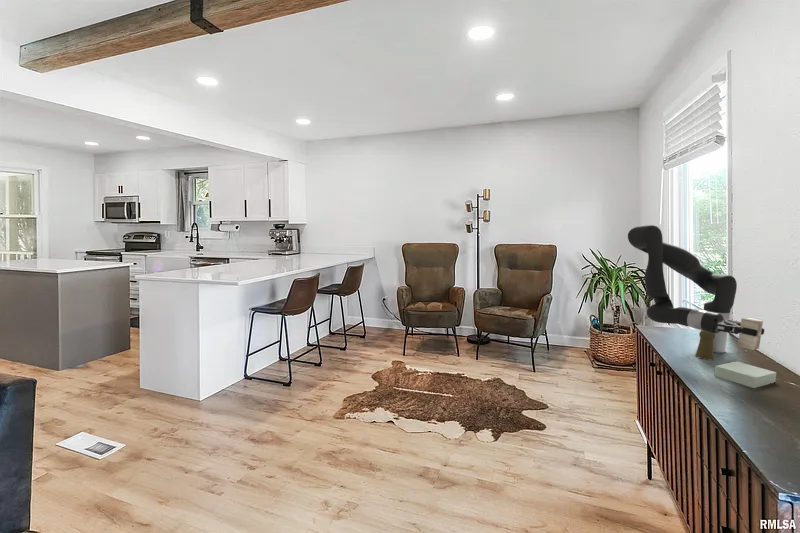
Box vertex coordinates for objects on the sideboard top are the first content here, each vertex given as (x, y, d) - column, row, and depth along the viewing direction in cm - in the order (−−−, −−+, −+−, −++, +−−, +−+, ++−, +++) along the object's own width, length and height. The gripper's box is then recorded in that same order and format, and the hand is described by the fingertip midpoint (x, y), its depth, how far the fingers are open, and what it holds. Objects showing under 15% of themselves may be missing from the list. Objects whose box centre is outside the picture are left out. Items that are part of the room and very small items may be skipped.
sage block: (735, 371, 157) (736, 361, 156) (774, 383, 146) (776, 372, 146) (714, 376, 151) (715, 365, 150) (753, 389, 140) (755, 377, 140)
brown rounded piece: (716, 360, 168) (720, 333, 167) (699, 358, 169) (703, 332, 168) (708, 355, 174) (712, 329, 173) (692, 354, 175) (695, 328, 174)
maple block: (743, 344, 150) (747, 317, 149) (759, 348, 146) (763, 320, 145) (737, 346, 148) (741, 318, 147) (753, 349, 144) (757, 321, 143)
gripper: (696, 312, 155) (752, 323, 140) (715, 309, 162) (771, 320, 147) (693, 332, 156) (749, 345, 141) (712, 328, 163) (768, 340, 148)
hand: (760, 332), depth 144 cm, fingers closed on maple block, 4 cm apart
